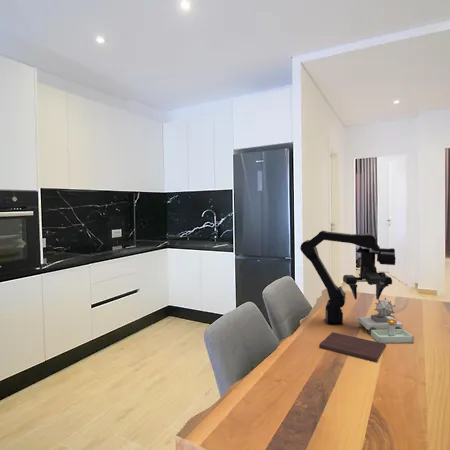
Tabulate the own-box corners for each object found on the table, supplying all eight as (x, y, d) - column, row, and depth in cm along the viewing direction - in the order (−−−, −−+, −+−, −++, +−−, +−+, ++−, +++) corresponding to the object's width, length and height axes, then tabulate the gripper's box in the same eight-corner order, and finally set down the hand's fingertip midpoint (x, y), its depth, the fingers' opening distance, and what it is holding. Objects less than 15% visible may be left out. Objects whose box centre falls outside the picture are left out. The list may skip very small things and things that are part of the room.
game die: (389, 325, 150) (402, 311, 144) (371, 318, 150) (384, 305, 144) (385, 310, 157) (397, 297, 152) (368, 304, 157) (380, 290, 152)
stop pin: (389, 339, 124) (389, 322, 124) (385, 336, 128) (385, 319, 127) (398, 339, 124) (398, 322, 124) (393, 335, 128) (394, 318, 127)
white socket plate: (368, 334, 131) (368, 321, 130) (358, 325, 140) (358, 313, 140) (402, 333, 131) (402, 320, 130) (390, 325, 140) (390, 312, 140)
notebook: (332, 335, 132) (332, 330, 132) (385, 347, 120) (385, 342, 120) (319, 349, 120) (319, 344, 120) (376, 364, 108) (376, 358, 108)
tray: (379, 343, 122) (379, 337, 122) (370, 336, 129) (370, 329, 129) (413, 342, 123) (413, 336, 122) (403, 335, 130) (403, 329, 129)
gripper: (352, 267, 130) (351, 305, 131) (399, 267, 129) (398, 305, 130) (342, 261, 141) (342, 297, 142) (386, 262, 140) (385, 297, 142)
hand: (366, 299), depth 139 cm, fingers open, 9 cm apart
